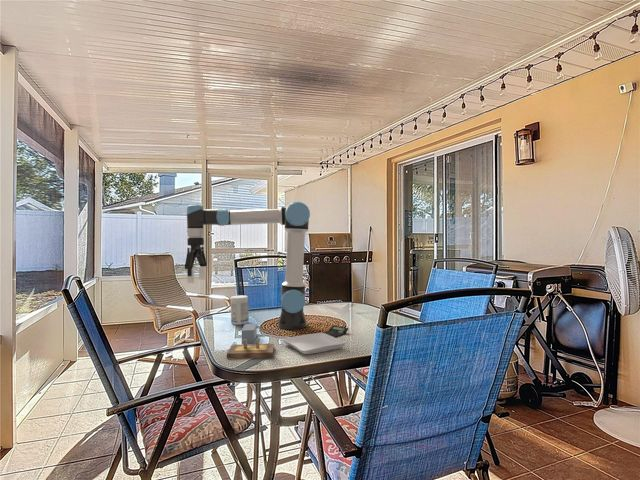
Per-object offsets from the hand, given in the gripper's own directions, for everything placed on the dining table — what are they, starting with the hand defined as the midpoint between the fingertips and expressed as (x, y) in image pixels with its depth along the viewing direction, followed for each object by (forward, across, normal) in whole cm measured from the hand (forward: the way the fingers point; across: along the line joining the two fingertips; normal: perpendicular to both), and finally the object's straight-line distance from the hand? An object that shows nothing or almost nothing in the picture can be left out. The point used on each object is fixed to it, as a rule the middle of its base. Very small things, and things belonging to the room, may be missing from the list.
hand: (196, 281), depth 183 cm
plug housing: (+27, +6, +27) cm, 38 cm away
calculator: (+28, -7, +66) cm, 72 cm away
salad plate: (+28, +15, +58) cm, 66 cm away
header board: (+27, +25, +33) cm, 49 cm away
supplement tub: (+27, -27, +13) cm, 40 cm away
